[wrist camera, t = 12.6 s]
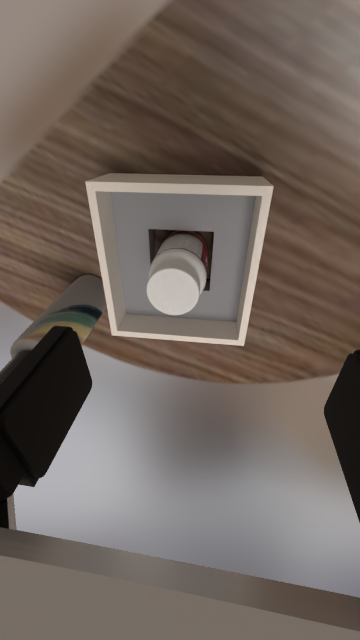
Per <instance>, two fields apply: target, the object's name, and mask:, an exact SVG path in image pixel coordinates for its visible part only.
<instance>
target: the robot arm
mask: <svg viewBox="0 0 360 640" xmlns="http://www.w3.org/2000/svg"><path fill="white" fill-rule="evenodd" d="M91 387H92V379H91V376H90V372H89V369H88V366H87V363H86V359H85V356H84V353H83V350H82V347H81V343H80V340H79V337H78V334H77V332H76V331H74V330H73V328H72V327H67V326H53V327H52V328H51V329H50V330H49V331H48V333H47V334H46V335H45V336H44V337H43V338H42V339H41V340H40V341H39V343H38V344H37V345H36V346H35V347H34V348H33V349H32V350H31V351H30V352H29V354H28V355H27V356H26V357H25V358H24V359H23V360H22V361H21V362H20V364H19V365H18V366H17V367H16V368H15V369H14V370H13V371H12V372H11V374H10V375H9V376H8V377H7V378H6V379H5V380H4V381H3V382H2V383H1V385H0V640H360V598H358V597H353V596H349V595H344V594H339V593H334V592H329V591H324V590H319V589H314V588H309V587H304V586H299V585H294V584H289V583H284V582H279V581H274V580H269V579H264V578H260V577H254V576H250V575H244V574H240V573H235V572H230V571H225V570H219V569H214V568H209V567H204V566H198V565H194V564H189V563H184V562H179V561H174V560H168V559H163V558H158V557H153V556H148V555H143V554H138V553H132V552H128V551H123V550H118V549H112V548H107V547H102V546H97V545H92V544H86V543H81V542H76V541H71V540H65V539H60V538H55V537H50V536H45V535H39V534H34V533H29V532H23V531H18V530H16V520H15V508H14V496H13V493H14V491H15V489H16V487H17V486H18V484H19V485H25V486H31V487H34V486H35V484H36V482H37V481H38V479H39V478H41V477H43V476H44V475H45V473H46V472H47V470H48V468H49V466H50V465H51V463H52V461H53V459H54V457H55V455H56V453H57V452H58V450H59V448H60V446H61V444H62V442H63V440H64V439H65V437H66V435H67V433H68V431H69V429H70V427H71V425H72V424H73V422H74V420H75V418H76V416H77V414H78V412H79V411H80V409H81V407H82V405H83V403H84V401H85V400H86V398H87V396H88V394H89V392H90V390H91ZM324 415H325V419H326V422H327V425H328V428H329V431H330V434H331V437H332V440H333V443H334V446H335V449H336V452H337V455H338V458H339V461H340V464H341V467H342V470H343V473H344V476H345V479H346V482H347V485H348V488H349V491H350V494H351V498H352V501H353V504H354V507H355V510H356V513H357V516H358V518H359V522H360V350H356V351H355V352H354V353H353V354H349V355H348V357H347V359H346V361H345V363H344V365H343V367H342V369H341V372H340V374H339V376H338V378H337V380H336V382H335V385H334V387H333V389H332V391H331V393H330V395H329V397H328V400H327V402H326V404H325V407H324Z"/></svg>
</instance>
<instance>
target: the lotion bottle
mask: <svg viewBox="0 0 360 640" xmlns="http://www.w3.org/2000/svg"><path fill="white" fill-rule="evenodd" d="M106 307H107V304H106V298H105V292H104V286H103V281H102V279H100V278H99V277H96V276H93V275H83V276H81V277H79V278H78V279H76V280H75V281H74V282H73V283H72V284H71V285H70V286H69V287H68V288H67V289H66V290H65V291H64V292H63V293H62V294H61V295H60V296H59V297H58V298H57V299H56V300H55V301H54V302H53V303H52V304H51V305H50V306H49V307H48V308H47V309H46V310H45V311H44V312H43V313H42V314H41V315H40V316H39V317H38V318H37V319H36V320H35V321H34V322H33V323H32V324H31V325H30V327H28V328H27V329H26V330H25V332H24V333H22V334H21V336H20V337H19V338H18V339H17V340H16V341H15V342H14V343H13V345H12V347H11V356H12V359H11V361H10V362H9V363H8V364H7V365H6V366H5V367H4V368H3V369H2V370H1V371H0V385H1V383H2V382H3V381H4V380H5V379H6V378H7V377H8V376H9V375H10V374H11V372H12V371H13V370H14V369H15V368H16V367H17V366H18V365H19V364H20V362H21V361H22V360H23V359H24V358H25V357H26V356H27V355H28V354H29V352H30V351H31V350H32V349H33V348H34V347H35V346H36V345H37V344H38V343H39V341H40V340H41V339H42V338H43V337H44V336H45V335H46V334H47V333H48V331H49V330H50V329H51V328H52V327H53V326H67V327H72V328H73V330H74V331H76V332H77V334H78V337H79V340H80V343H81V345H82V344H83V342H84V341H85V339H86V337H87V336H88V334H89V333H90V331H91V330H92V328H93V327H94V325H95V324H96V322H97V321H98V319H99V318H100V316H101V315H102V313H103V312H104V310H105V308H106Z"/></svg>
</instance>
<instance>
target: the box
mask: <svg viewBox="0 0 360 640" xmlns="http://www.w3.org/2000/svg"><path fill="white" fill-rule="evenodd" d="M85 183H86V188H87V194H88V200H89V206H90V211H91V217H92V223H93V229H94V234H95V240H96V246H97V252H98V257H99V263H100V269H101V275H102V281H103V286H104V292H105V298H106V304H107V309H108V315H109V321H110V327H111V332H112V335H114V336H127V337H139V338H152V339H165V340H177V341H190V342H202V343H215V344H227V345H240V346H244V342H245V337H246V332H247V326H248V321H249V316H250V310H251V305H252V300H253V294H254V289H255V283H256V278H257V273H258V267H259V262H260V257H261V251H262V246H263V240H264V235H265V230H266V224H267V219H268V214H269V208H270V203H271V197H272V192H273V187H274V186H273V185H272V184H270V183H269V182H268V181H267V180H266V179H265V178H264V177H263V176H219V175H174V174H128V173H109V174H106V175H103V176H100V177H97V178H94V179H91V180H88V181H85ZM154 229H160V230H184V231H208V232H214V237H213V250H212V263H211V275H210V281H206V284H205V287H204V289H203V291H202V293H201V294H200V295H199V299H198V302H197V304H196V305H195V306H194V308H193V309H191V310H190V311H189V312H187V313H184V314H181V315H169V314H165V313H163V312H161V311H159V310H157V309H156V308H155V307H154V306H153V305H152V304H151V302H150V301H149V299H148V296H147V283H148V281H149V269H150V266H151V264H152V262H153V260H154V258H155V243H154Z"/></svg>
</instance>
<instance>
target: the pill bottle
mask: <svg viewBox="0 0 360 640" xmlns="http://www.w3.org/2000/svg"><path fill="white" fill-rule="evenodd" d="M207 263H208V248H207V245H206V243H205V241H204V240H203V238H202V237H201V236H200V235H198V234H197V233H195V232H193V231H184V230H178V231H175V232H173V233H171V234H169V235H168V236H167V237H166V239H165V240H164V241H163V243H162V245H161V247H160V249H159V251H158V253H157V254H156V256H155V258H154V260H153V262H152V264H151V266H150V269H149V281H148V283H147V296H148V299H149V301H150V302H151V304H152V305H153V306H154V307H155V308H156V309H157V310H159V311H161V312H163V313H165V314H169V315H181V314H184V313H187V312H189V311H190V310H191V309H193V308H194V306H195V305H196V304H197V302H198V299H199V295H200V294H201V293H202V291H203V289H204V287H205V284H206V278H207Z"/></svg>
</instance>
